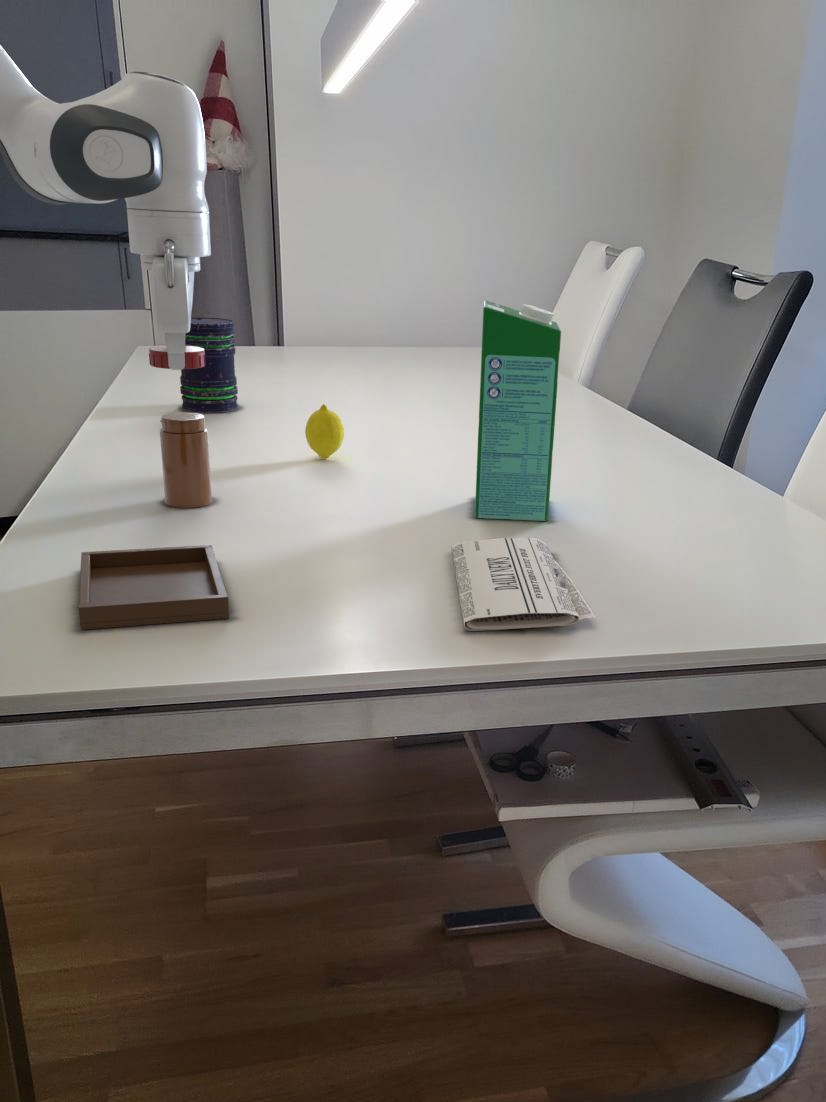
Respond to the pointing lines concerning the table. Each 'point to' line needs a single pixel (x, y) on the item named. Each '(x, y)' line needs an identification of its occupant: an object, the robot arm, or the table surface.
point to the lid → (191, 353)
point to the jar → (185, 460)
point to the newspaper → (514, 586)
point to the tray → (150, 587)
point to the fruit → (324, 432)
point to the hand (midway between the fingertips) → (177, 363)
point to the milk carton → (516, 412)
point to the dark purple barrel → (211, 368)
